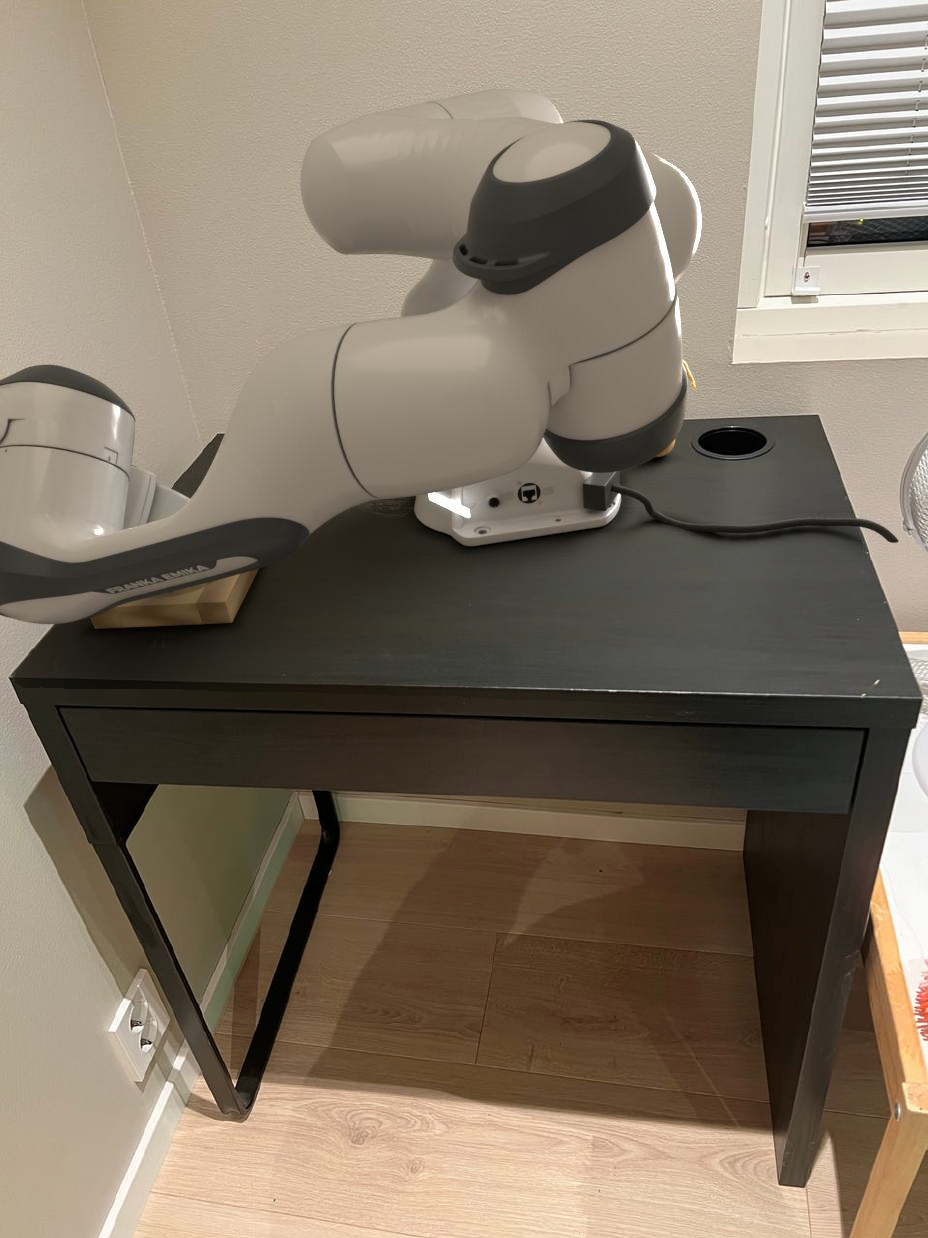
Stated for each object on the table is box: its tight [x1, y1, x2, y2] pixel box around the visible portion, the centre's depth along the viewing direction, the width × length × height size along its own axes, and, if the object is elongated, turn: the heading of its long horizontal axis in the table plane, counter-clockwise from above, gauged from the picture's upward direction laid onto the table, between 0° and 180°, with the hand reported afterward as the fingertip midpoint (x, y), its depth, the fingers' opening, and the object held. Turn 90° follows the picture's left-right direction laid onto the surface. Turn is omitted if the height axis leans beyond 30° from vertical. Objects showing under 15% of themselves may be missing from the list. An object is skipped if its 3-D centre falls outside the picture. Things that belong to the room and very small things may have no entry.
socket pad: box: [89, 568, 260, 630], centre depth 94 cm, size 14×14×2 cm
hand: (175, 535), depth 91 cm, fingers closed on chess pawn, 3 cm apart
